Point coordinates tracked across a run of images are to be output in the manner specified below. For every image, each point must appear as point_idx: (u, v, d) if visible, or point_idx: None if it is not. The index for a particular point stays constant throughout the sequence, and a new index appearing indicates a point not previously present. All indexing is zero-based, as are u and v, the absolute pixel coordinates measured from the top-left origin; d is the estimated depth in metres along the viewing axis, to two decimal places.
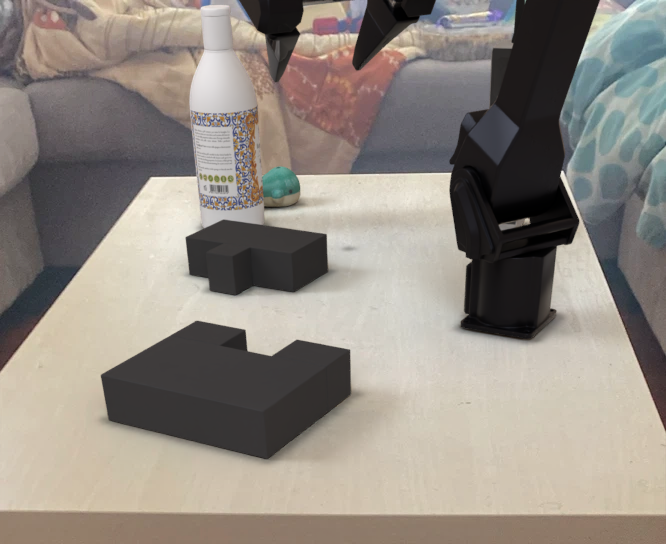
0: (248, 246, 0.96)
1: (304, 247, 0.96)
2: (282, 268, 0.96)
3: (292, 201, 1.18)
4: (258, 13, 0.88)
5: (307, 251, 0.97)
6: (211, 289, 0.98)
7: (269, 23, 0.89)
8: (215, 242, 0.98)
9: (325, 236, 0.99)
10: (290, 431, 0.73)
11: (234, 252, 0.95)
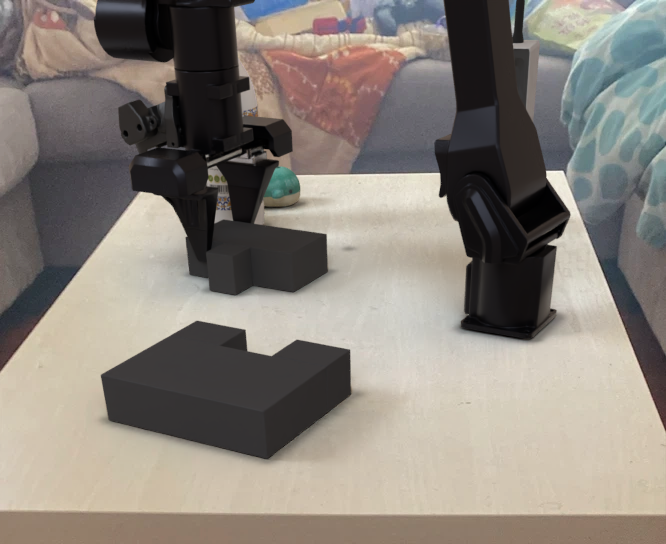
0: (248, 247, 0.96)
1: (304, 247, 0.96)
2: (282, 268, 0.96)
3: (292, 201, 1.18)
4: (173, 180, 0.89)
5: (307, 251, 0.97)
6: (211, 289, 0.98)
7: (187, 182, 0.90)
8: (215, 242, 0.98)
9: (325, 236, 0.99)
10: (290, 431, 0.73)
11: (234, 252, 0.95)
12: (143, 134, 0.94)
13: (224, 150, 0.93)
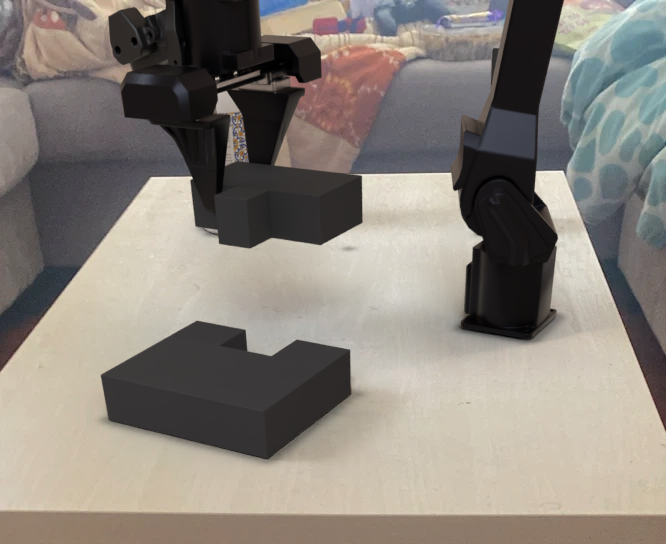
0: (266, 189, 0.79)
1: (335, 190, 0.79)
2: (307, 215, 0.78)
3: None
4: (174, 101, 0.72)
5: (338, 195, 0.79)
6: (221, 242, 0.80)
7: (190, 104, 0.72)
8: (226, 185, 0.80)
9: (360, 178, 0.81)
10: (290, 431, 0.73)
11: (248, 195, 0.78)
12: (139, 50, 0.77)
13: (238, 68, 0.75)
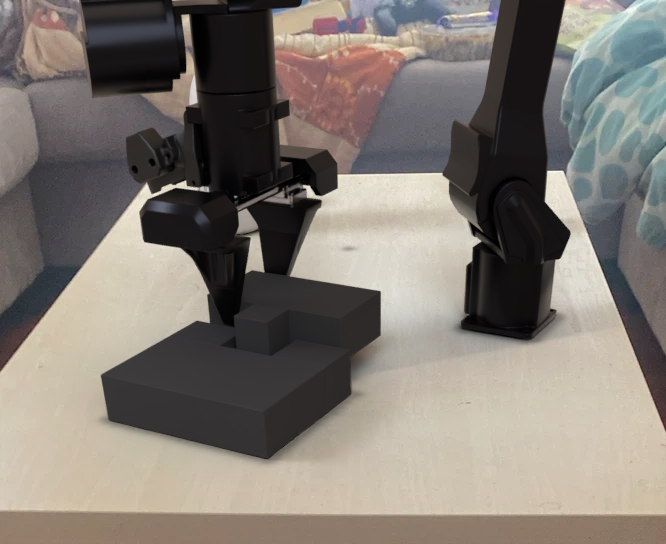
0: (286, 308, 0.78)
1: (355, 309, 0.78)
2: (327, 335, 0.78)
3: None
4: (196, 230, 0.71)
5: (358, 314, 0.79)
6: None
7: (213, 234, 0.71)
8: (244, 302, 0.80)
9: (379, 294, 0.80)
10: (290, 431, 0.73)
11: (268, 316, 0.77)
12: (157, 171, 0.76)
13: (258, 191, 0.75)
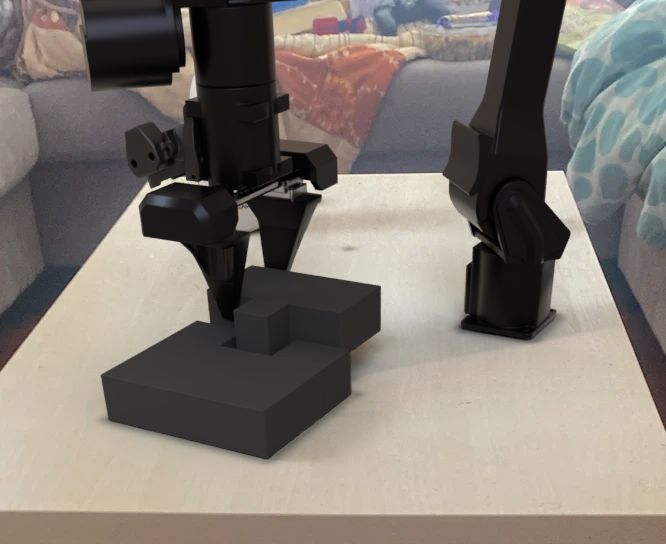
0: (286, 303, 0.78)
1: (355, 304, 0.78)
2: (327, 330, 0.78)
3: None
4: (195, 224, 0.71)
5: (358, 308, 0.78)
6: None
7: (212, 228, 0.71)
8: (244, 296, 0.79)
9: (379, 288, 0.80)
10: (290, 431, 0.73)
11: (268, 310, 0.77)
12: (156, 165, 0.75)
13: (258, 185, 0.74)
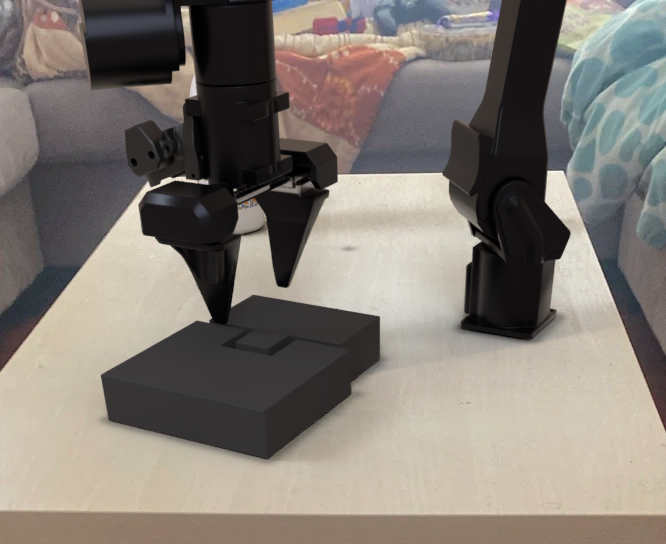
0: (287, 334, 0.79)
1: (355, 335, 0.79)
2: None
3: None
4: (195, 223, 0.71)
5: (358, 339, 0.80)
6: None
7: (212, 226, 0.71)
8: (246, 327, 0.81)
9: (378, 319, 0.82)
10: (290, 431, 0.73)
11: (269, 342, 0.78)
12: (156, 163, 0.75)
13: (257, 184, 0.74)
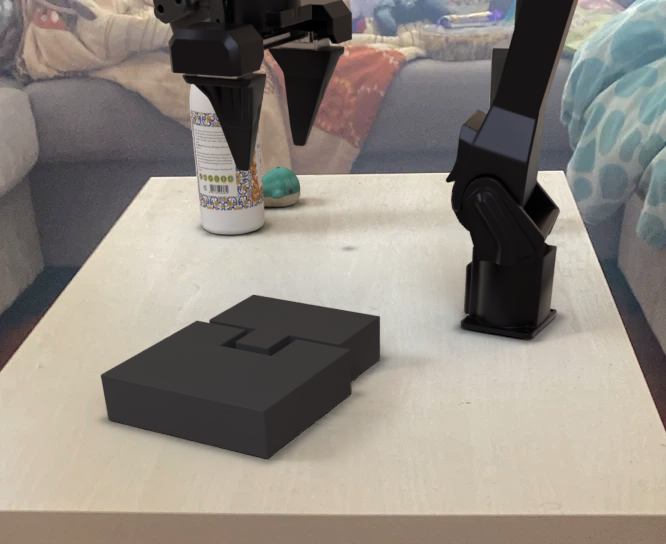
0: (287, 334, 0.79)
1: (355, 335, 0.79)
2: None
3: (292, 201, 1.18)
4: (225, 55, 0.74)
5: (358, 339, 0.80)
6: None
7: (241, 59, 0.75)
8: (246, 327, 0.81)
9: (378, 319, 0.82)
10: (290, 431, 0.73)
11: (269, 342, 0.78)
12: (182, 8, 0.79)
13: (281, 25, 0.78)
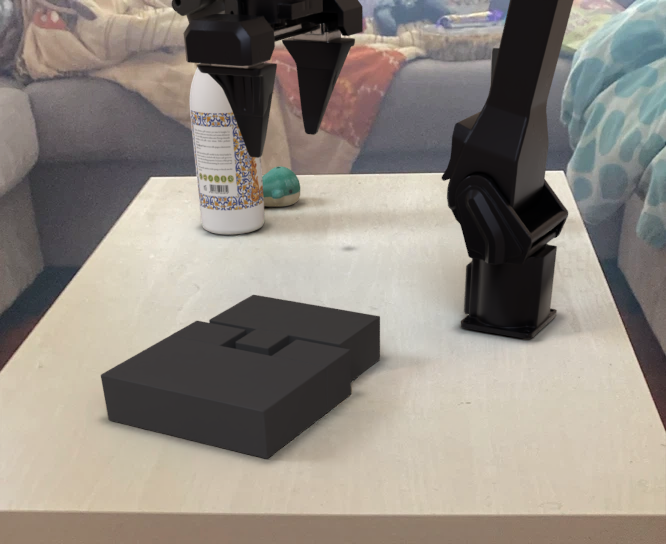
0: (287, 334, 0.79)
1: (355, 335, 0.79)
2: None
3: (292, 201, 1.18)
4: (236, 45, 0.78)
5: (358, 339, 0.80)
6: None
7: (252, 49, 0.78)
8: (246, 327, 0.81)
9: (378, 319, 0.82)
10: (290, 431, 0.73)
11: (269, 342, 0.78)
12: (198, 1, 0.82)
13: (292, 17, 0.81)
